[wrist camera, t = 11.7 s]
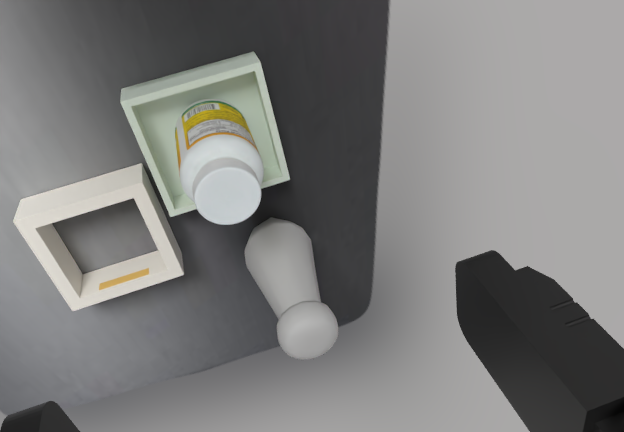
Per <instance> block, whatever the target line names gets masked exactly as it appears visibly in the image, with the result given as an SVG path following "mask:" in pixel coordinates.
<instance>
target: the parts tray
mask: <svg viewBox="0 0 624 432" xmlns="http://www.w3.org/2000/svg"><path fill="white" fill-rule="evenodd" d="M203 99H220V100H224V101H226V102H229V103H230V104H232V105H234V106H235V107H236V108H237V109H238V110H239V111H240V112H241V113H242V115H243V116H244V118H245V120H246V123H247V125H248V128H249V130H250V132H251V135H252V137H253V140H254V142H255V144H256V147H257V149H258V151H259V154H260V156H261V159H262V162H263V168H264V176H263V181H262V184H261V189H262V188H265V187H268V186H272V185H275V184H278V183H281V182H284V181H288V180H290V177H289V173H288V169H287V165H286V161H285V157H284V153H283V149H282V145H281V141H280V137H279V133H278V129H277V125H276V121H275V117H274V113H273V110H272V106H271V102H270V98H269V94H268V90H267V86H266V82H265V78H264V74H263V70H262V66H261V62H260V60H259V59H258V57H257V56H256V54H255V52H254V51H253V52H250V53H246V54H242V55H239V56H235V57H232V58H228V59H225V60H221V61H218V62H214V63H211V64H207V65H204V66H200V67H196V68H193V69H189V70H186V71H182V72H179V73H175V74H172V75H168V76H165V77H161V78H158V79H154V80H150V81H147V82H143V83H140V84H136V85H133V86H129V87H126V88H122V89H121V99H120V102H121V105H122V107H123V109H124V111H125V114H126V116H127V118H128V121H129V123H130V125H131V127H132V130H133V132H134V134H135V137H136V139H137V141H138V144H139V146H140V148H141V150H142V153H143V155H144V157H145V160H146V162H147V164H148V166H149V169H150V171H151V173H152V176H153V178H154V180H155V183H156V185H157V187H158V189H159V192H160V194H161V196H162V199H163V201H164V203H165V205H166V208H167V210H168V212H169V215H170V217H173V216H176V215H179V214H182V213H186V212H189V211H192V210H195V209H197V208H196V205H195V203H194V202H193V201H192V200H191V199H190V198H189V197H188V196H187V195H186V193H185V191H184V190H183V187H182V185H181V181H180V177H179V167H178V157H177V149H176V141H175V126H176V123H177V120H178V118H179V116H180V114H181V113H182V112H183V111H184V110H185V109H186V108H187V107H188V106H189V105H191V104H193V103H194V102H197V101H199V100H203Z"/></svg>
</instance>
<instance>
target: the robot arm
mask: <svg viewBox="0 0 624 432" xmlns="http://www.w3.org/2000/svg"><path fill="white" fill-rule="evenodd" d="M455 269H456V270H455V272H456V298H457V299H456V300H457V316H458V321H459V324H460V327H461V330H462V332H463V334H464V336H465V338H466V340H467V342H468V343H469V345H470V346H471V348H472V349H473V350H474V352H475V353H476V355H477V356H478V358H479V359H480V360H481V362H482V363H483V365H484V366H485V368H486V369H487V371H488V372H489V373H490V375H491V376H492V378H493V379H494V381H495V382H496V383H497V385H498V386H499V388H500V389H501V391H502V392H503V393H504V395H505V396H506V398H507V399H508V401H509V402H510V404H511V405H512V407H513V408H514V409H515V411H516V412H517V414H518V415H519V417H520V418H521V419H522V421H523V422H524V424H525V425H526V427H527V428H528V430H529V431H530V432H624V349H623V348H622V347H621V346H620V345H619V344H618V343H617V342H616V341H615V340H614V339H613V338H612V337H611V336H610V335H609V334H608V333H607V332H606V331H605V330H604V329H603V328H602V327H601V326H600V325H599V324H598V323H597V322H596V321H595V320H594V319H590V317H589V315H588V313H587V312H586V311H585V310H584V309H583V308H582V307H581V306H580V305H579V304H578V303H575V302H574V301H573V298H572V297H571V296H570V295H569V294H568V293H567V292H566V291H565V290H564V289H563V288H562V287H561V286H560V285H559V284H558V283H557V282H556V281H555V280H554V279H552V278H549V277H548V276H546V275H544V274H542V273H539V272H538V271H536V270H534V269H532V268H530V267H528V266H527V267H524V268H521V269H518V270H516V271H515V270H514V269H513V268H512V267H511V266H510V265H509V263H508V262H507V261H505V259H504V258H503V257H502V256H501V255H500V254H499V253H497V252H496V251H492V250H491V251H488V252H485V253H483V254H480V255H477V256H474V257H471V258H468V259H465V260H462V261H459V262H457V264H456V268H455ZM0 432H80V431H79V430H78V429H77V427H76V426H75V425H74V424H73V423H72V421H71V420H70V419H69V417H68V416H67V415H66V414H65V413H64V411H63V410H62V409H61V408H60V406H59V405H58V404H57V403H55V402H53V401H49V402H46V403H43V404H40V405H37V406H34V407H31V408H28V409H25V410H23V411H20V412H17V413H14V414H11V415H8V416H7V417H6V418H5V419H4V421H3V423H2V427H1V430H0Z"/></svg>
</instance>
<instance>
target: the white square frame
mask: <svg viewBox="0 0 624 432" xmlns="http://www.w3.org/2000/svg"><path fill="white" fill-rule="evenodd" d="M132 198H134V200H135V202H136V204H137V206H138V208H139V210H140V212H141V214H142V217H143V219H144V221H145V223H146V225H147V227H148V229H149V231H150V233H151V235H152V238H153V240H154V242H155V244H156V246H157V248H158V250H157V251H154V252H151V253H148V254H145V255H141V256H138V257H135V258H132V259H129V260H126V261H123V262H120V263H116V264H113V265H110V266H107V267H104V268H101V269H98V270H95V271H91V272H88V273H85V274H82V272H81V270H80V269H79V267H78V265H77V264H76V262H75V261H74V259H73V257H72V256H71V254H70V252H69V251H68V249H67V247H66V246H65V244H64V242H63V241H62V239H61V238H60V236H59V234H58V233H57V231H56V229H55V228H54V226H53V224H52V223H54V222H57V221H61V220H64V219H67V218H70V217H74V216H77V215H80V214H83V213H87V212H90V211H93V210H96V209H100V208H103V207H106V206H109V205H113V204H116V203H119V202H123V201H126V200H129V199H132ZM13 222H14V224H15V225H16V227H17V228H18V230H19V231H20V233H21V234H22V236H23V237H24V239H25V240H26V242H27V243H28V245H29V246H30V248H31V249H32V251H33V252H34V254H35V255H36V257H37V258H38V260H39V261H40V263H41V264H42V266H43V267H44V269H45V270H46V272H47V273H48V275H49V276H50V278H51V279H52V281H53V282H54V284H55V285H56V287H57V288H58V290H59V292H60V293H61V295H62V296H63V298H64V299H65V301H66V302H67V304H68V305H69V307H70V308H71V310H72V311H75V310H78V309H81V308H84V307H87V306H90V305H94V304H97V303H100V302H103V301H106V300H109V299H112V298H115V297H118V296H121V295H124V294H127V293H130V292H133V291H136V290H139V289H142V288H146V287H149V286H152V285H155V284H158V283H161V282H164V281H167V280H170V279H173V278H176V277H179V276H182V275H184V268H183V260H182V252H181V250H180V248H179V246H178V243H177V241H176V239H175V237H174V234H173V232H172V230H171V228H170V225H169V223H168V221H167V219H166V216H165V214H164V212H163V209H162V207H161V205H160V203H159V200H158V198H157V196H156V194H155V191H154V189H153V187H152V185H151V182H150V180H149V178H148V176H147V173H146V171H145V169H144V167H143V164H142V163H140V164H137V165H134V166H130V167H127V168H124V169H120V170H117V171H114V172H110V173H107V174H103V175H100V176H97V177H93V178H90V179H87V180H83V181H80V182H77V183H73V184H70V185H67V186H63V187H60V188H57V189H53V190H50V191H47V192H43V193H40V194H37V195H33V196H30V197H27V198H23V199H21V200H20V203H19V206H18V209H17V212H16V215H15V218H14V220H13Z"/></svg>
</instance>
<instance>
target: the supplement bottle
mask: <svg viewBox="0 0 624 432" xmlns="http://www.w3.org/2000/svg"><path fill="white" fill-rule="evenodd" d="M175 141H176V149H177V157H178V167H179V177H180V181H181V185H182V187H183V190H184V191H185V193H186V195H187V196H188V197H189V198H190V199H191V200H192V201H193V202H194V203H195V205H196V208H197V210H198V211H199V213H200V214H201V215H202V216H203V217H204V218H205V219H207V220H208V221H210V222H213V223H216V224H221V225H231V224H236V223H239V222H242V221H244V220H246V219H247V218H249V217H250V216H251V215H252V214H253V213H254V212H255V211H256V209H257V208H258V206H259V203H260V201H261V184H262V181H263V176H264V168H263V162H262V159H261V156H260V154H259V151H258V149H257V147H256V144H255V142H254V140H253V137H252V135H251V132H250V130H249V128H248V125H247V123H246V120H245V118H244V116H243V115H242V113H241V112H240V111H239V110H238V109H237V108H236V107H235V106H234V105H232V104H230V103H229V102H226V101H224V100H220V99H203V100H199V101H197V102H194V103H193V104H191V105H189V106H188V107H187V108H186V109H185V110H184V111H183V112H182V113H181V114H180V116H179V118H178V120H177V123H176V126H175Z"/></svg>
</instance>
